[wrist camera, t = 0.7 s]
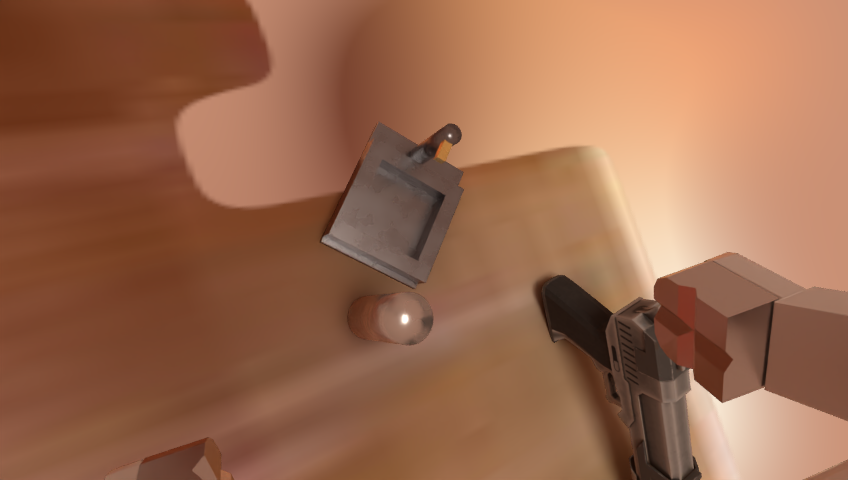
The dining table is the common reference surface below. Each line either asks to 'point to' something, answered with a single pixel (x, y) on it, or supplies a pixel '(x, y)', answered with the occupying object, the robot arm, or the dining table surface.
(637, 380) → the firearm
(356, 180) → the keeper
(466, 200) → the dining table surface
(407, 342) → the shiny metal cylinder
